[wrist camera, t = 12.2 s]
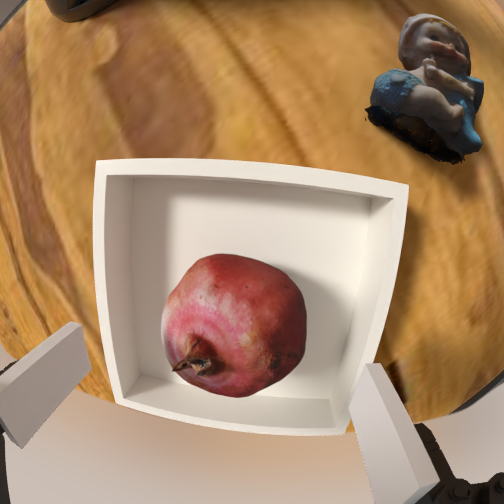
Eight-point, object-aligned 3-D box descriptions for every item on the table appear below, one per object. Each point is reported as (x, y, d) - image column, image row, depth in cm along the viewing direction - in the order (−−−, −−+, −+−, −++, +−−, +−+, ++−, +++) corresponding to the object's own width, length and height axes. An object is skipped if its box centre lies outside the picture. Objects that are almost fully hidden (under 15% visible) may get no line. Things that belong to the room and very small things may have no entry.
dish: (136, 374, 24) (115, 403, 19) (130, 166, 20) (96, 160, 15) (334, 399, 23) (343, 434, 18) (379, 187, 19) (408, 185, 14)
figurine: (357, 104, 13) (411, -28, 8) (356, 137, 20) (404, 22, 16) (482, 181, 11) (509, 27, 6) (442, 187, 18) (479, 65, 14)
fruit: (324, 312, 20) (358, 396, 11) (229, 371, 22) (207, 461, 12) (252, 216, 19) (233, 235, 9) (158, 290, 21) (88, 352, 11)
